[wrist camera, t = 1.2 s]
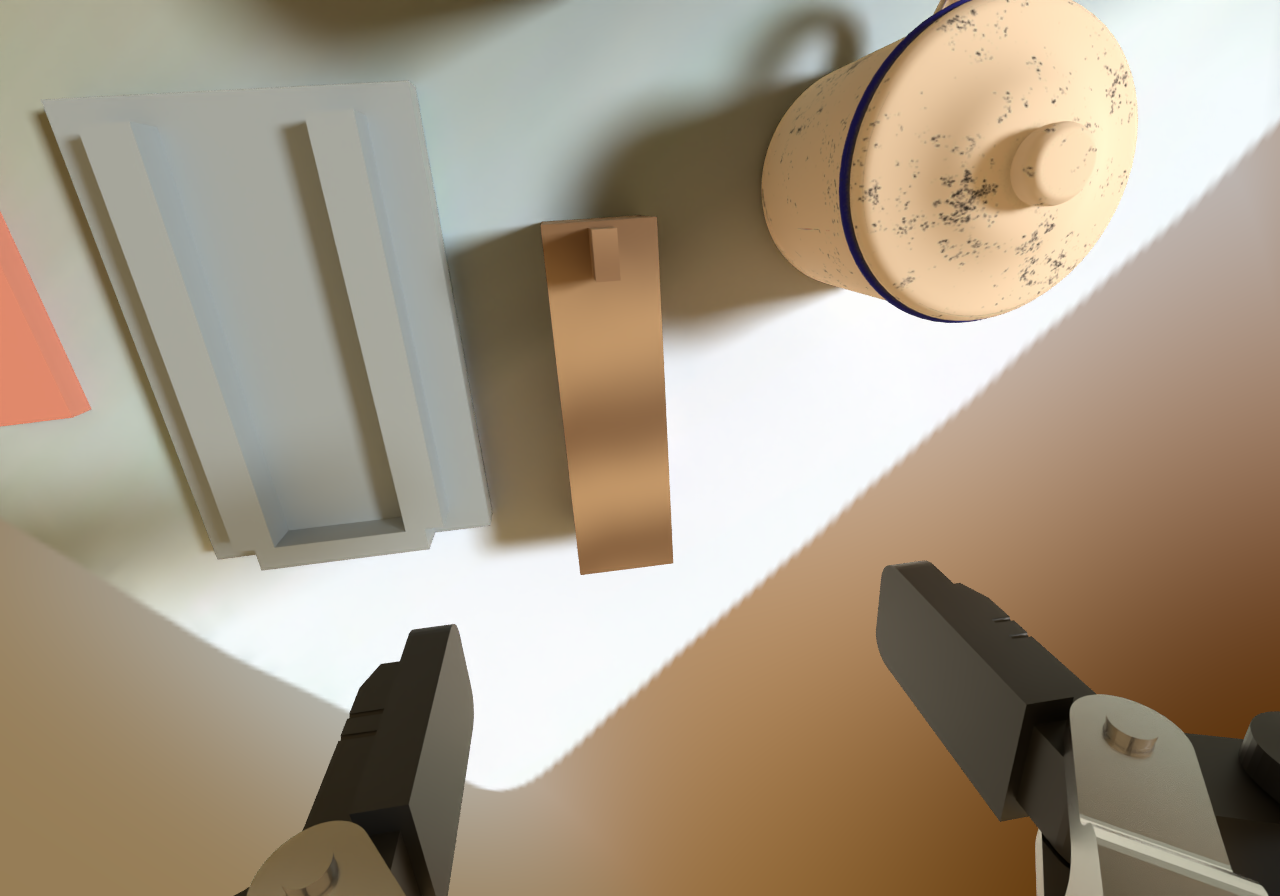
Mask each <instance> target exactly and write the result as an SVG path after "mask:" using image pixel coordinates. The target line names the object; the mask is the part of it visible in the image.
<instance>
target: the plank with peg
mask: <svg viewBox="0 0 1280 896" xmlns="http://www.w3.org/2000/svg"><path fill="white" fill-rule="evenodd" d="M541 234H542V243H543V252H544V260H545V269H546V278H547V286H548V295H549V304H550V313H551V321H552V330H553V339H554V348H555V356H556V365H557V374H558V382H559V391H560V400H561V409H562V417H563V426H564V435H565V443H566V452H567V461H568V470H569V478H570V487H571V496H572V505H573V513H574V522H575V531H576V539H577V548H578V557H579V566H580V574H581V575H585V574H592V573H600V572H608V571H616V570H624V569H632V568H640V567H648V566H655V565H663V564H671V563H673V549H672V527H671V506H670V485H669V463H668V442H667V421H666V399H665V378H664V357H663V335H662V314H661V293H660V271H659V250H658V229H657V217H652V216H641V215H635V216H621V217H606V218H591V219H576V220H562V221H547V222H542V223H541Z"/></svg>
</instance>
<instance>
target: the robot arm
mask: <svg viewBox="0 0 1280 896" xmlns="http://www.w3.org/2000/svg"><path fill="white" fill-rule="evenodd" d="M876 639H877V644H878V648H879V651H880V654H881V657H882V659H883V661H884V663H885V665H886V666H887V668H888V669H889V670H890V672H891V673H892V674H893V676H894V677H895V679H896V680H897V681H898V683H899V684H900V685H901V687H902V688H903V690H904V691H905V692H906V693H907V695H908V696H909V697H910V699H911V700H912V702H913V703H914V704H915V706H916V707H917V709H918V710H919V711H920V713H921V714H922V715H923V717H924V718H925V720H926V721H927V722H928V724H929V725H930V726H931V728H932V729H933V731H934V732H935V733H936V735H937V736H938V737H939V739H940V740H941V741H942V743H943V744H944V746H945V747H946V748H947V750H948V751H949V752H950V754H951V755H952V756H953V758H954V759H955V761H956V762H957V763H958V765H959V766H960V767H961V769H962V770H963V772H964V773H965V774H966V776H967V777H968V778H969V780H970V781H971V783H972V784H973V785H974V787H975V788H976V789H977V791H978V792H979V793H980V795H981V796H982V797H983V799H984V800H985V801H986V803H987V804H988V806H989V807H990V809H991V810H992V811H993V813H994V814H995V815H996V816H997V818H998V819H999V821H1000V822H1001V821H1006V820H1012V819H1017V818H1022V817H1028V816H1030V818H1031V819H1032V821H1033V822H1034V823H1035V824H1036V826H1037V827H1038V828H1039V830H1038V833H1037V837H1036V844H1035V845H1036V846H1035V848H1036V879H1037V880H1036V881H1037V896H1280V712H1266V713H1261V714H1259V715H1257V716H1255V717H1254V718H1253V719H1252V721H1251V723H1250V726H1249V728H1248V731H1247V733H1246V736H1245V738H1244V739H1234V738H1225V737H1216V736H1206V735H1197V734H1187V733H1183V732H1182V731H1181V730H1180V729H1179V728H1178V727H1177V726H1176V725H1175V724H1174V723H1172V722H1171V721H1170V720H1168V719H1167V718H1165V717H1164V716H1163V715H1161V714H1159V713H1157V712H1156V711H1154V710H1152V709H1150V708H1148V707H1146V706H1144V705H1141V704H1139V703H1137V702H1134V701H1131V700H1128V699H1125V698H1121V697H1116V696H1110V695H1097V694H1096V693H1095V692H1093V691H1092V690H1091V689H1090V688H1089V687H1088V686H1087V685H1085V684H1084V683H1083V682H1082V681H1081V680H1080V679H1079V678H1078V677H1077V676H1075V675H1074V674H1073V673H1072V672H1071V671H1070V670H1069V669H1068V668H1066V667H1065V666H1064V665H1063V664H1062V663H1061V662H1060V661H1058V659H1056V658H1055V657H1054V656H1053V655H1052V654H1051V653H1050V652H1049V651H1047V650H1046V649H1045V648H1044V647H1043V646H1042V645H1041V644H1040V643H1038V642H1037V641H1036V640H1035V639H1034V638H1033V637H1028V635H1027V632H1026V631H1025V630H1024V629H1023V628H1022V627H1020V626H1019V625H1018V624H1017V623H1016V622H1015V621H1011V620H1010V617H1009V616H1008V615H1007V614H1006V613H1005V612H1004V611H1003V610H1002V609H1000V608H999V607H998V606H997V605H996V604H995V603H994V602H993V601H991V600H990V599H989V598H988V597H986V596H984V595H982V594H980V593H978V592H976V591H974V590H972V589H971V588H969V587H967V586H965V585H963V584H961V583H956V584H953V583H952V582H951V581H950V580H949V579H948V578H947V577H946V576H945V575H944V574H943V573H942V572H940V571H939V570H938V569H937V568H936V567H935V566H934V565H933V564H932V563H930V562H928V561H918V562H910V563H903V564H896V565H889V566H886V567H885V568H884V570H883V572H882V577H881V586H880V597H879V607H878V617H877V627H876ZM349 714H350V718H349V719H347V721H346V724H345V726H344V729H343V731H342V734H341V741H338V744H337V746H336V749H335V751H334V754H333V756H332V759H331V761H330V764H329V766H328V769H327V771H326V774H325V776H324V779H323V781H322V784H321V786H320V789H319V792H318V794H317V796H316V799H315V801H314V804H313V806H312V809H311V811H310V814H309V816H308V819H307V821H306V824H305V827H304V829H303V831H302V832H300V833H298V834H297V835H295V836H293V837H292V838H290V839H289V840H288V841H286V842H285V843H284V844H282V845H281V846H280V847H279V848H278V849H277V850H276V851H275V852H273V854H272V855H271V856H270V857H269V858H268V859H267V860H266V861H265V862H264V864H263V865H262V866H261V868H260V869H259V871H258V872H257V874H256V875H255V877H254V879H253V881H252V883H251V885H250V887H248V888H247V889H246V890H244V891H242V892H240V893H238V894H236V895H235V896H448V890H449V883H450V877H451V870H452V863H453V857H454V850H455V843H456V836H457V829H458V823H459V817H460V810H461V803H462V797H463V790H464V783H465V777H466V770H467V764H468V757H469V750H470V744H471V737H472V730H473V719H474V709H473V696H472V689H471V685H470V680H469V675H468V671H467V666H466V662H465V657H464V653H463V648H462V643H461V639H460V634H459V631H458V628H457V626H456V625H455V624H451V625H444V626H436V627H429V628H422V629H414V630H412V631H411V632H410V633H409V636H408V639H407V642H406V645H405V648H404V651H403V654H402V657H401V660H400V661H399V662H392V663H385V664H381V665H380V666H379V667H378V668H377V669H376V670H375V671H374V672H373V674H372V675H371V676H370V677H369V678H368V679H367V680H366V681H365V682H364V684H363V685H362V686H361V687H360V688H359V691H358V693H357V696H356V698H355V701H354V703H353V706H352V708H351V711H350V713H349Z"/></svg>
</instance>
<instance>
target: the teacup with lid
mask: <svg viewBox="0 0 1280 896" xmlns="http://www.w3.org/2000/svg"><path fill="white" fill-rule="evenodd" d="M1137 126H1138V114H1137V100H1136V92H1135V87H1134V82H1133V78H1132V74H1131V71H1130V68H1129V65H1128V62H1127V60H1126V58H1125V55H1124V53H1123V51H1122V49H1121V47H1120V45H1119V44H1118V42H1117V41H1116V39H1115V37H1114V36H1113V35H1112V33H1111V32H1110V31H1109V30H1108V28H1107V27H1106V26H1105V25H1104V24H1103V23H1102V22H1101V21H1100V20H1099V19H1098V18H1097V17H1096V16H1095V15H1094V14H1092V13H1091V12H1090V11H1088V10H1087V9H1085V8H1084V7H1083V6H1081V5H1079V4H1078V3H1076V2H1074V1H1072V0H940V2H939V4H938V6H937V8H936V10H935V12H934V14H933V15H932V16H931V17H929V18H928V19H926V20H925V21H924V22H922V23H921V24H920V25H919V26H918V27H916V28H915V29H914V30H913V31H912V32H910V33H909V34H908V35H907V36H906V37H904V38H902V39H900V40H898V41H896V42H894V43H892V44H889V45H887V46H885V47H883V48H881V49H879V50H877V51H875V52H873V53H871V54H869V55H867V56H865V57H862V58H860V59H858V60H856V61H854V62H852V63H850V64H848V65H846V66H844V67H842V68H840V69H837V70H835V71H833V72H831V73H830V74H828V75H826V76H824V77H822V78H821V79H819V80H818V81H817V82H815V83H814V84H812V85H811V86H810V87H809V88H808V89H807V90H805V91H804V92H803V93H802V94H801V95H800V96H799V97H798V98H797V99H796V100H795V102H794V103H793V104H792V105H791V106H790V108H789V109H788V110H787V112H786V113H785V115H784V116H783V118H782V119H781V121H780V123H779V125H778V126H777V128H776V130H775V132H774V135H773V137H772V139H771V142H770V144H769V147H768V150H767V154H766V158H765V161H764V167H763V173H762V205H763V211H764V216H765V220H766V223H767V227H768V229H769V232H770V234H771V236H772V238H773V240H774V242H775V244H776V246H777V247H778V249H779V250H780V252H781V253H782V254H783V256H784V257H785V258H786V259H787V260H788V261H789V262H790V263H791V264H792V265H793V266H794V267H795V268H797V269H798V270H799V271H800V272H802V273H804V274H805V275H807V276H808V277H810V278H812V279H815V280H817V281H820V282H823V283H826V284H829V285H833V286H836V287H840V288H844V289H847V290H851V291H854V292H858V293H862V294H865V295H869V296H872V297H876V298H880V299H883V300H887V301H888V302H889V303H891V304H892V305H894V306H895V307H897V308H898V309H900V310H902V311H904V312H906V313H908V314H911V315H913V316H916V317H919V318H922V319H926V320H931V321H936V322H945V323H962V322H971V321H977V320H982V319H986V318H989V317H994V316H997V315H1001V314H1004V313H1007V312H1009V311H1012V310H1014V309H1017V308H1019V307H1021V306H1023V305H1025V304H1027V303H1029V302H1030V301H1032V300H1034V299H1036V298H1037V297H1039V296H1040V295H1042V294H1044V293H1045V292H1047V291H1048V290H1049V289H1051V288H1052V287H1053V286H1055V285H1056V284H1057V283H1059V282H1060V281H1061V280H1062V279H1063V278H1064V277H1066V276H1067V275H1068V274H1069V273H1070V272H1071V271H1072V270H1073V269H1074V268H1075V267H1076V266H1077V265H1078V264H1079V263H1080V262H1081V261H1082V260H1083V258H1084V257H1085V256H1086V255H1087V254H1088V253H1089V251H1090V250H1091V249H1092V247H1093V246H1094V245H1095V243H1096V242H1097V241H1098V239H1099V238H1100V236H1101V235H1102V233H1103V232H1104V230H1105V229H1106V227H1107V225H1108V224H1109V222H1110V220H1111V218H1112V216H1113V214H1114V213H1115V211H1116V208H1117V206H1118V204H1119V202H1120V200H1121V197H1122V195H1123V192H1124V190H1125V187H1126V184H1127V181H1128V178H1129V174H1130V171H1131V168H1132V163H1133V158H1134V154H1135V147H1136V140H1137Z"/></svg>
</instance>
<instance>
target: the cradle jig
mask: <svg viewBox="0 0 1280 896" xmlns="http://www.w3.org/2000/svg"><path fill="white" fill-rule="evenodd" d="M41 101H42V104H43V107H44V109H45V112H46V114H47V117H48V120H49V122H50V125H51V128H52V130H53V133H54V135H55V138H56V141H57V143H58V146H59V148H60V151H61V154H62V156H63V159H64V161H65V164H66V167H67V169H68V172H69V174H70V177H71V180H72V182H73V185H74V187H75V190H76V193H77V195H78V198H79V200H80V203H81V206H82V208H83V211H84V213H85V216H86V219H87V221H88V224H89V226H90V229H91V232H92V234H93V237H94V239H95V242H96V245H97V247H98V250H99V252H100V255H101V258H102V260H103V263H104V265H105V268H106V271H107V273H108V276H109V278H110V281H111V284H112V286H113V289H114V291H115V294H116V297H117V299H118V302H119V304H120V307H121V310H122V312H123V315H124V317H125V320H126V323H127V325H128V328H129V330H130V333H131V336H132V338H133V341H134V343H135V346H136V349H137V351H138V354H139V356H140V359H141V362H142V364H143V367H144V369H145V372H146V375H147V377H148V380H149V382H150V385H151V388H152V390H153V393H154V395H155V398H156V401H157V403H158V406H159V408H160V411H161V414H162V416H163V419H164V421H165V424H166V427H167V429H168V432H169V434H170V437H171V440H172V442H173V445H174V447H175V450H176V453H177V455H178V458H179V460H180V463H181V466H182V468H183V471H184V473H185V476H186V479H187V481H188V484H189V486H190V489H191V492H192V494H193V497H194V499H195V502H196V505H197V507H198V510H199V512H200V515H201V518H202V520H203V523H204V525H205V528H206V531H207V533H208V536H209V538H210V541H211V544H212V546H213V549H214V551H215V554H216V557H217V559H225V558H233V557H241V556H249V555H256V556H257V559H258V561H259V564H260V567H261V570H269V569H277V568H285V567H293V566H301V565H309V564H316V563H324V562H332V561H340V560H348V559H356V558H364V557H372V556H379V555H387V554H395V553H403V552H411V551H419V550H427V549H430V546H431V543H432V540H433V537H434V534H435V532H442V531H450V530H458V529H466V528H474V527H482V526H490V524H491V518H492V508H491V503H490V497H489V492H488V486H487V481H486V475H485V470H484V464H483V459H482V453H481V447H480V442H479V436H478V431H477V425H476V420H475V414H474V409H473V403H472V397H471V392H470V386H469V381H468V375H467V370H466V364H465V359H464V353H463V348H462V342H461V336H460V331H459V325H458V320H457V314H456V309H455V303H454V298H453V292H452V286H451V281H450V275H449V270H448V264H447V259H446V253H445V248H444V242H443V237H442V231H441V225H440V220H439V214H438V209H437V203H436V198H435V192H434V187H433V181H432V175H431V170H430V164H429V159H428V153H427V148H426V142H425V137H424V131H423V126H422V120H421V114H420V109H419V103H418V98H417V92H416V87H415V86H414V85H413V84H412V83H411V82H410V81H391V82H372V83H353V84H333V85H314V86H295V87H276V88H256V89H237V90H218V91H198V92H179V93H160V94H140V95H121V96H102V97H83V98H63V99H44V100H41Z"/></svg>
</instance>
